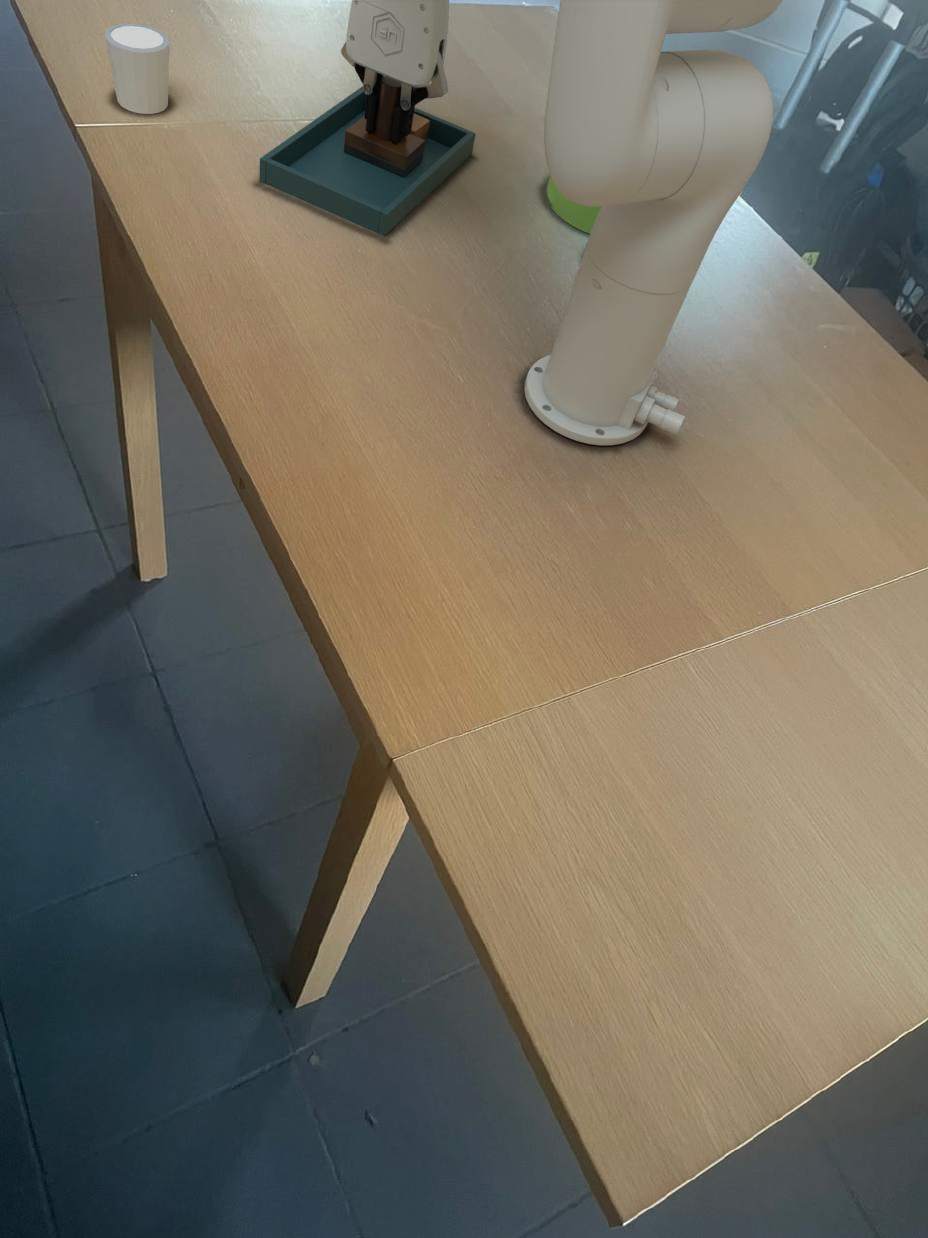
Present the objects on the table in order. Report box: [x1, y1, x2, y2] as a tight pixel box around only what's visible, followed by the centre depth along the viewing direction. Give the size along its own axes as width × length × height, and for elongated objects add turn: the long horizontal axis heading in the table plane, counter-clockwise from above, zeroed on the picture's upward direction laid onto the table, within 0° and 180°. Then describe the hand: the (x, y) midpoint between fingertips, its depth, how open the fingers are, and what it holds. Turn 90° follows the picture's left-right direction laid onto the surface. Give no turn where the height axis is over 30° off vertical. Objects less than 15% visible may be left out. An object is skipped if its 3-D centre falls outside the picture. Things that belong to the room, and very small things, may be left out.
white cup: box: [104, 22, 171, 115], centre depth 104 cm, size 7×7×7 cm
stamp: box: [344, 76, 425, 177], centre depth 106 cm, size 8×5×8 cm, turn 66°
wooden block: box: [410, 114, 430, 142], centre depth 112 cm, size 4×4×2 cm
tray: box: [259, 85, 477, 237], centre depth 107 cm, size 16×24×3 cm, turn 156°
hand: (386, 131), depth 107 cm, fingers closed on stamp, 2 cm apart
